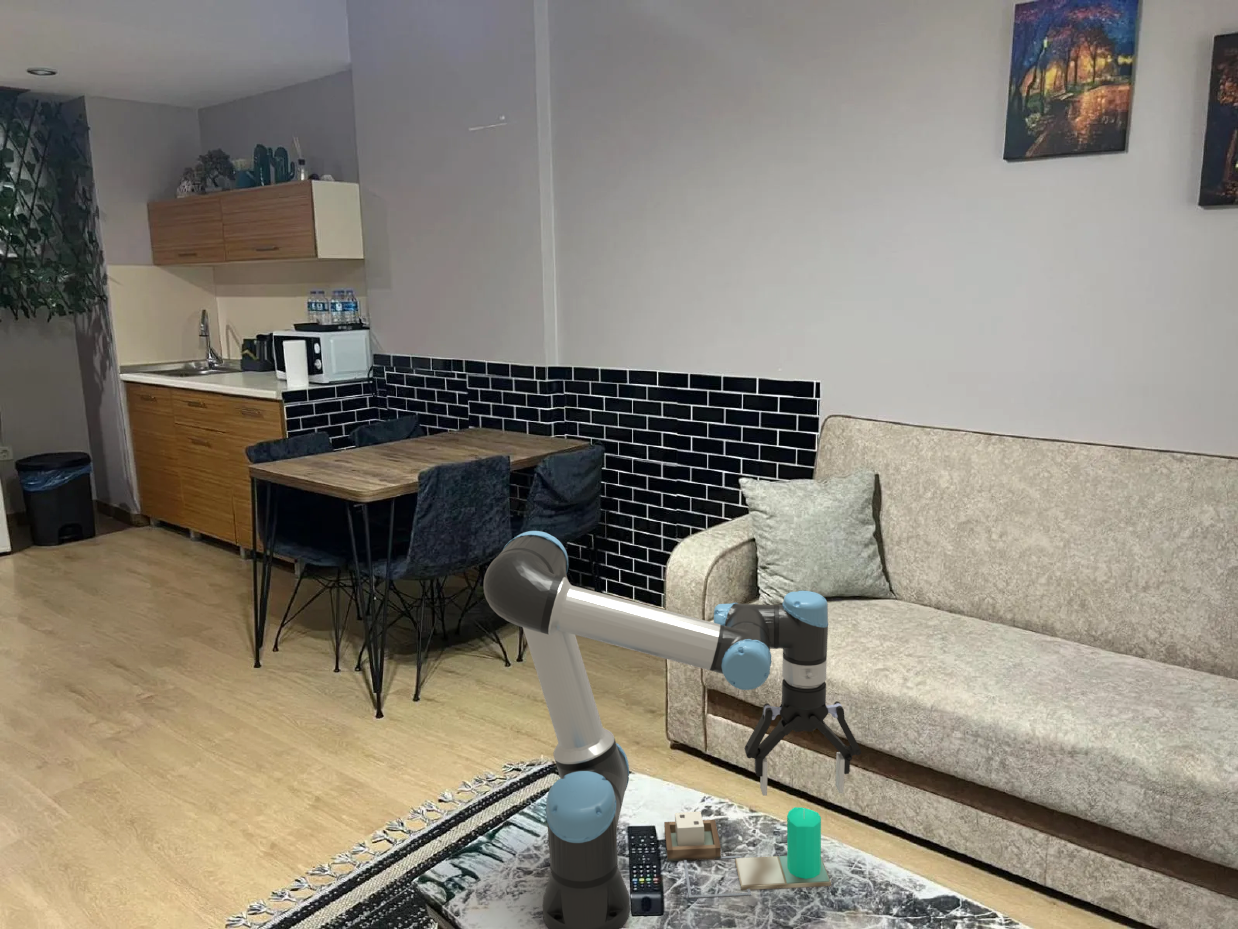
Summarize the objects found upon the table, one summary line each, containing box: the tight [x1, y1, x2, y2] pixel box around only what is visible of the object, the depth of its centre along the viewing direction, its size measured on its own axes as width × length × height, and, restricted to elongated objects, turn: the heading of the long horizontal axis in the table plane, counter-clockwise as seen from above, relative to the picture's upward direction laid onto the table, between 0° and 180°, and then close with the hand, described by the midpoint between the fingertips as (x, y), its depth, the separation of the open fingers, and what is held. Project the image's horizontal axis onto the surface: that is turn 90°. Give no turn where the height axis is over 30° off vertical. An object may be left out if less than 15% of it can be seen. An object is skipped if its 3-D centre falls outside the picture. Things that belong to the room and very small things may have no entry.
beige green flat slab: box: [734, 855, 832, 891], centre depth 167 cm, size 16×8×1 cm, turn 91°
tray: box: [663, 819, 722, 862], centre depth 176 cm, size 10×9×2 cm
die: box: [674, 811, 704, 846], centre depth 176 cm, size 5×5×5 cm
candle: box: [786, 806, 822, 879], centre depth 166 cm, size 6×6×12 cm
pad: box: [683, 855, 752, 899], centre depth 167 cm, size 11×11×1 cm
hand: (801, 790), depth 164 cm, fingers open, 13 cm apart
